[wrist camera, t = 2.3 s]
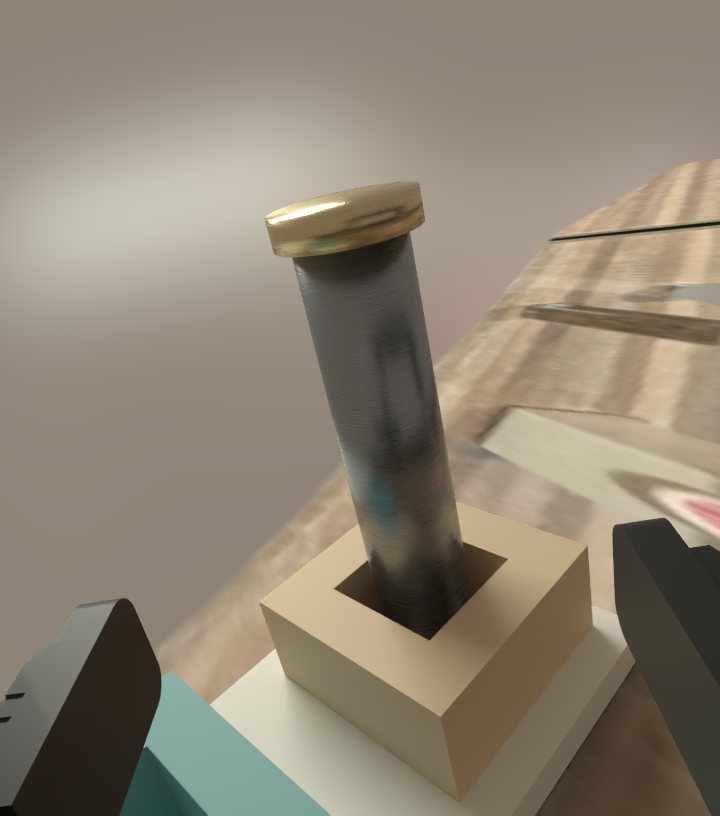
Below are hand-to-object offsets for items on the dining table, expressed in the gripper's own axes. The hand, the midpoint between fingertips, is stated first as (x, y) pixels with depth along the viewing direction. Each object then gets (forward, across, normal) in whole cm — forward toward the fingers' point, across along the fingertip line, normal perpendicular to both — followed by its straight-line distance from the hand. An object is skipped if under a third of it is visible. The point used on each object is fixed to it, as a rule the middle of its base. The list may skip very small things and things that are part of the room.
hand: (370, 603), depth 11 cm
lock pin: (+12, 0, +13) cm, 17 cm away
